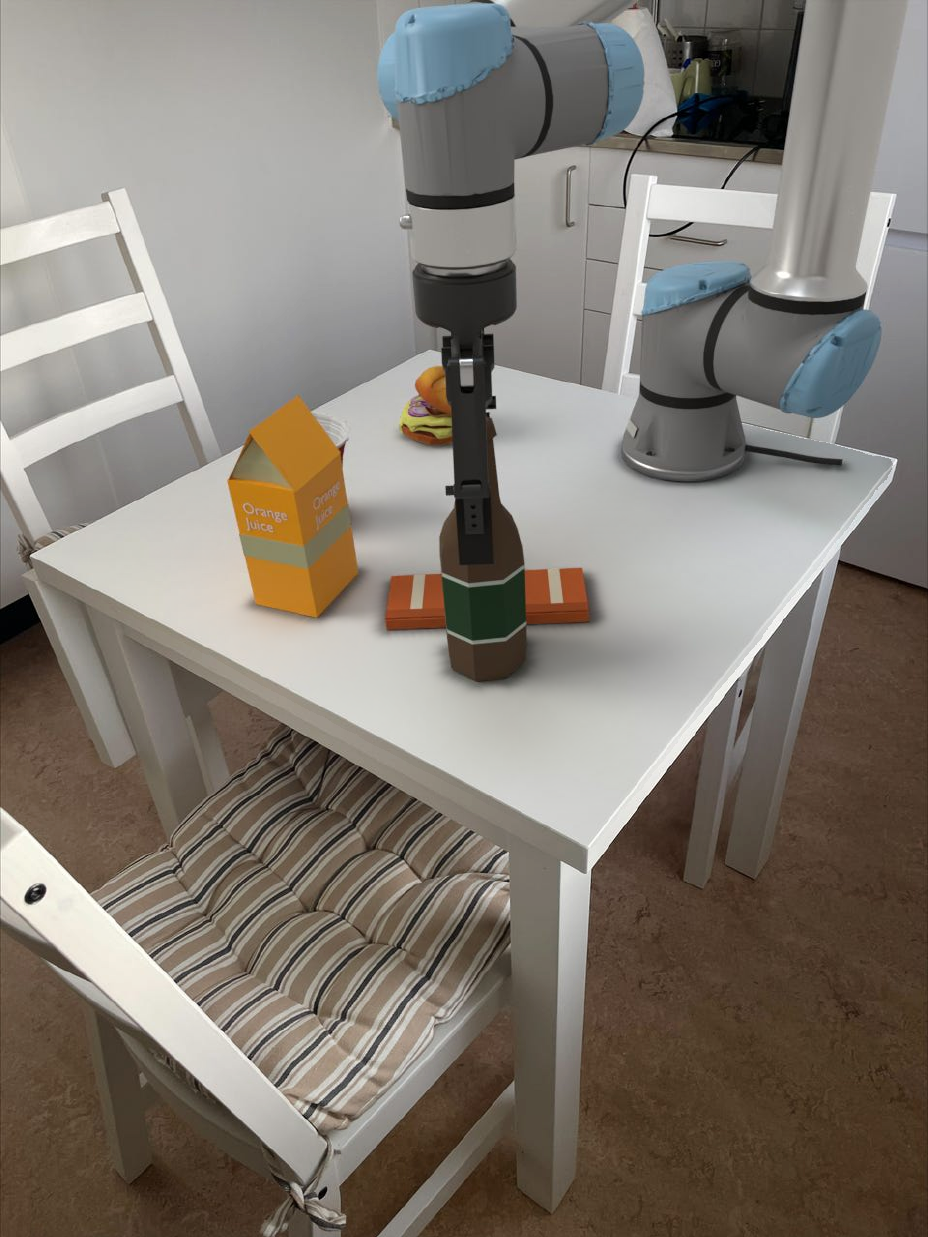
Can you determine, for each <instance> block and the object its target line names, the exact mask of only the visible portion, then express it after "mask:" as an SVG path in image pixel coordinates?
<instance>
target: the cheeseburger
mask: <svg viewBox="0 0 928 1237" xmlns="http://www.w3.org/2000/svg"><path fill="white" fill-rule="evenodd" d="M414 388H415V391H416V392H417V395H415V396H413V397H412V398H411V399H410V400H408V401H407V402H406V403H405V405H404V407H403V410H402V412H401V414H400V420H399V422H398V428H399V430H400V432H401V434H402V435H403V436H404V435H405V436H406V437H408V438H409V439H411V440H413V441H417V442H419V443H423V444H426V445H431V446H444V445H448V444H451V443H452V444H453V439H452V433H451V430H452V416H451V406H449V404H448V403H447V398H446V378H445V372H444V371H443V367H442V365H435V366H431V367H428V368H427V369H425V370H424V371H423V372H422V373H421V374H420V375H419V376H418V378H417V379H415V382H414Z"/></svg>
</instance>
